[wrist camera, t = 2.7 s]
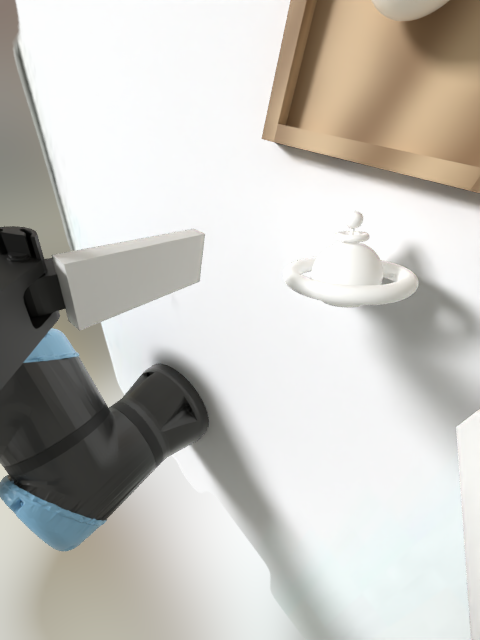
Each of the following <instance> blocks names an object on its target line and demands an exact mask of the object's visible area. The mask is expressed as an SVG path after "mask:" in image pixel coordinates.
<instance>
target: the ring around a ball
mask: <svg viewBox="0 0 480 640" xmlns="http://www.w3.org/2000/svg"><path fill="white" fill-rule="evenodd" d="M362 222H363V216H362V214H361V213H360V212H356V211H355V212H352V213H350V214H349V215H348V216H347V217H346V225H347V226H348V227H349V228H351V231H344V232H338V233H336V234H335V239H336V240H338V241H344V242H340V243H337V244H334V245H332V246H330V247H328V248H327V249H325V250H324V251H323V252H322V253H321V254H320V255H319V256H318V257H310V258H305V259H300V260H297V261H295V262H292V263H291V264H289V265H288V266H287V267H286V268H285V270H284V273H283V278H284V281H285V283H286V284H287V285H288V286H289V287H290V288H291V289H292V290H294V291H296V292H298V293H299V294H302V295H304V296H307V297H310V298H313V299H317V300H321V301H323V302H324V303H326V304H329V305H332V306H337V307H358V306H361V305H381V304H388V303H394V302H397V301H401V300H404V299H406V298H408V297H410V296H411V295H412V294H413V293H415V291H416V290H417V288H418V285H419V283H418V278H417V276H416V275H415V274H414V273H413V272H412V271H410V270H409V269H407V268H405V267H403V266H400V265H398V264H395V263H391V262H387V261H383V260H380V258H379V257H378V255H377V254H376V253H375V251H374V250H372V249H371V248H370V247H368V246H367V245H365V244H362V243H359V242H363V241H366V240H368V239H369V234H368V233H365V232H358V231H354V229H355V228H358V227H359V226H360V225H361V224H362ZM310 271H311V278H308V277H305V276H303V275H301V274H303V273H306V272H310ZM383 278H388V279H390V280H392V281H394V283H390V284H383V285H381V283H382V279H383Z"/></svg>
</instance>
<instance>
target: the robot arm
mask: <svg viewBox="0 0 480 640" xmlns="http://www.w3.org/2000/svg"><path fill="white" fill-rule="evenodd" d="M204 238H205V234H204V233H202V232H200V231H198V230H195V229H190V230H185V231H179V232H174V233H168V234H163V235H158V236H152V237H147V238H141V239H136V240H130V241H125V242H120V243H114V244H109V245H103V246H98V247H92V248H87V249H81V250H76V251H71V252H65V253H60V254H54V255H52V258H50V259H44V257H43V253H42V250H41V246H40V243H39V239H38V235H37V233H36V231H34V230H32V229H29V228H25V227H0V463H1V464H2V466H3V467H4V468H5V470H6V471H7V472H8V474H9V475H7V476H5V477H4V478H3V479H2V481H1V482H0V497H1V499H2V500H3V501H4V502H5V504H6V505H7V506H8V507H9V508H10V509H11V510H12V511H13V512H14V513H15V514H16V516H17V517H18V518H19V519H20V520H21V521H22V522H23V523H24V524H25V525H26V526H27V527H28V528H29V529H30V530H31V531H32V532H34V533H35V534H36V535H37V536H38V537H39V538H40V539H42V540H43V541H44V542H45V543H47V544H48V545H49V546H51V547H52V548H54V549H56V550H59V551H69V550H72V549H74V548H75V547H77V546H78V545H80V544H81V543H82V542H83V541H84V540H85V539H86V538H87V537H88V536H90V535H91V534H92V533H93V532H94V531H95V530H96V529H97V528H98V527H99V526H101V525H103V524H104V523H105V522H106V520H107V518H108V517H109V516H110V515H111V514H112V513H113V512H114V511H115V510H116V509H117V508H118V507H119V506H120V505H121V504H122V503H123V502H124V501H125V500H126V499H127V498H128V497H129V495H130V494H131V493H132V492H133V491H134V490H135V489H136V488H137V487H138V486H139V485H140V484H141V483H142V482H143V481H144V480H145V479H146V478H147V477H148V476H149V475H150V474H151V473H152V472H153V470H155V468H156V467H157V466H158V465H159V464H160V463H161V462H162V461H163V460H165V459H166V458H167V457H168V456H170V455H172V454H174V453H176V452H178V451H179V450H181V449H183V448H185V447H187V446H188V445H190V444H192V443H194V442H196V441H197V440H198V439H200V438H201V437H202V435H203V434H204V433H205V432H206V431H207V429H208V424H209V420H208V414H207V411H206V408H205V405H204V403H203V401H202V399H201V398H200V396H199V394H198V393H197V391H196V390H195V388H194V387H193V386H192V385H191V383H190V382H189V381H188V380H187V379H186V378H185V377H184V376H183V375H181V374H180V373H179V372H178V371H176V370H175V369H173V368H171V367H169V366H167V365H163V364H155V365H153V366H152V367H150V368H149V369H147V370H146V371H145V372H143V374H142V375H141V376H140V377H139V378H138V380H137V381H136V382H135V383H134V384H133V386H132V387H131V388H130V389H129V391H128V392H127V393H126V394H125V395H124V397H123V398H122V399H121V400H119V401H118V402H117V403H115V404H114V405H112V406H111V407H109V408H108V407H107V405H106V403H105V401H104V399H103V397H102V396H101V394H100V392H99V391H98V389H97V387H96V385H95V384H94V382H93V380H92V378H91V377H90V375H89V373H88V372H87V370H86V368H85V366H84V365H83V363H82V361H81V360H80V358H79V354H78V353H77V352H75V350H74V348H73V347H72V345H71V344H70V342H69V341H68V339H67V338H66V336H65V335H64V334H63V333H62V332H61V331H59V330H57V329H53V328H52V327H53V326H54V324H55V323H56V322H57V321H58V319H59V317H60V314H59V310H62V309H66V312H67V316H68V320H69V322H70V323H72V324H73V325H74V326H75V327H76V328H77V329H78V330H82V329H85V328H87V327H89V326H92V325H94V324H97V323H99V322H102V321H104V320H107V319H109V318H111V317H114V316H116V315H119V314H121V313H124V312H126V311H129V310H131V309H133V308H136V307H138V306H141V305H143V304H146V303H148V302H151V301H153V300H155V299H158V298H160V297H163V296H165V295H168V294H170V293H173V292H175V291H178V290H180V289H182V288H185V287H187V286H190V285H192V284H195V283H197V282H199V281H200V272H201V264H202V255H203V246H204ZM456 434H457V448H458V462H459V476H460V490H461V504H462V518H463V532H464V546H465V561H466V575H467V589H468V603H469V617H470V631H471V640H480V409H479V410H478V411H476V412H475V413H474V414H473V415H471V416H470V417H469V418H467V419H466V420H465V421H463V422H462V423H461V424H460V425H458V426H457V427H456Z"/></svg>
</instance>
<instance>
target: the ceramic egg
mask: <svg viewBox="0 0 480 640" xmlns="http://www.w3.org/2000/svg"><path fill="white" fill-rule="evenodd" d="M371 1H372V3H373V4H374V6H375V8H376V9H377V10H378V11H379V12H380V13H381V14H382V15H384V16H385V17H387V18H389V19H391V20H394V21H411V20H416V19H419V18H422V17H425V16H427V15H429V14H431V13H432V12H434V11H436V10H437V9H439V8H440V7H442V6H443V5H445V4H446V3H447V2H448V1H450V0H371Z"/></svg>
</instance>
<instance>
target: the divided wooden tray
mask: <svg viewBox="0 0 480 640" xmlns="http://www.w3.org/2000/svg"><path fill="white" fill-rule="evenodd" d="M262 139H264V140H268V141H271V142H275V143H279V144H283V145H287V146H291V147H295V148H299V149H303V150H307V151H311V152H315V153H319V154H323V155H327V156H331V157H335V158H339V159H343V160H347V161H351V162H355V163H359V164H363V165H367V166H371V167H375V168H380V169H384V170H388V171H392V172H396V173H400V174H404V175H408V176H412V177H416V178H420V179H424V180H428V181H432V182H436V183H440V184H444V185H448V186H452V187H456V188H460V189H464V190H468V191H472V192H476V193H480V0H450V1H448V2H447V3H446V4H445V5H443V6H442V7H440V8H439V9H437V10H436V11H434V12H432V13H431V14H429V15H427V16H425V17H422V18H419V19H416V20H411V21H394V20H391V19H389V18H387V17H385V16H384V15H382V14H381V13H380V12H379V11H378V10H377V9H376V8H375V6H374V4H373V3H372V1H371V0H291V1H290V6H289V11H288V15H287V20H286V25H285V30H284V34H283V39H282V44H281V49H280V54H279V58H278V63H277V68H276V73H275V77H274V82H273V87H272V92H271V97H270V101H269V106H268V111H267V116H266V121H265V125H264V130H263V135H262Z"/></svg>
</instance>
